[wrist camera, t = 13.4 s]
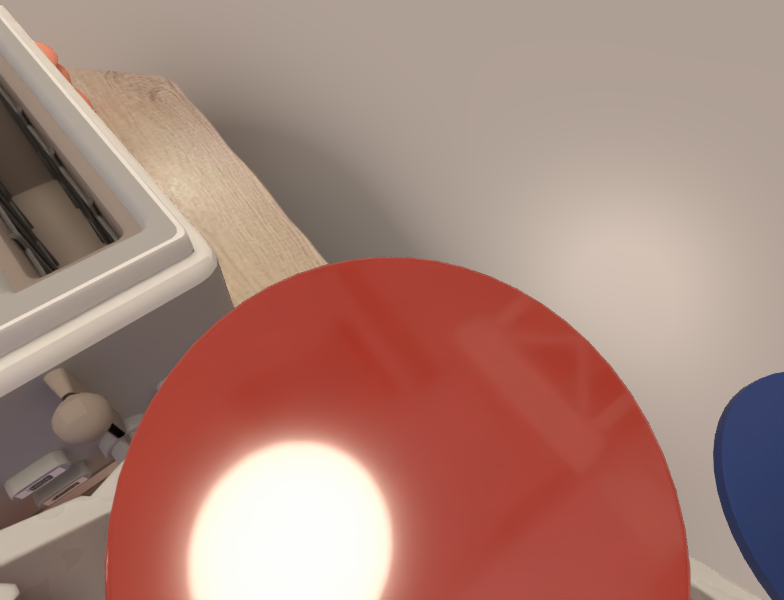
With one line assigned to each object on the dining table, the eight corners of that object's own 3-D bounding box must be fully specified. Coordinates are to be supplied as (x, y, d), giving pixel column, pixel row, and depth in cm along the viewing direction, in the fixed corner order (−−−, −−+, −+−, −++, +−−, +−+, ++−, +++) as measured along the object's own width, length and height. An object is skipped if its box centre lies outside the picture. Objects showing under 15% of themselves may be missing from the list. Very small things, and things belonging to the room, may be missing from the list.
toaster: (55, 601, 31) (-285, 620, 14) (-116, 266, 42) (-426, 41, 25) (294, 416, 39) (268, 281, 22) (100, 175, 50) (-20, -42, 33)
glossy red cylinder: (440, 434, 15) (580, 247, 7) (482, 661, 12) (818, 818, 4) (251, 453, 14) (146, 262, 6) (246, 706, 11) (21, 1041, 3)
